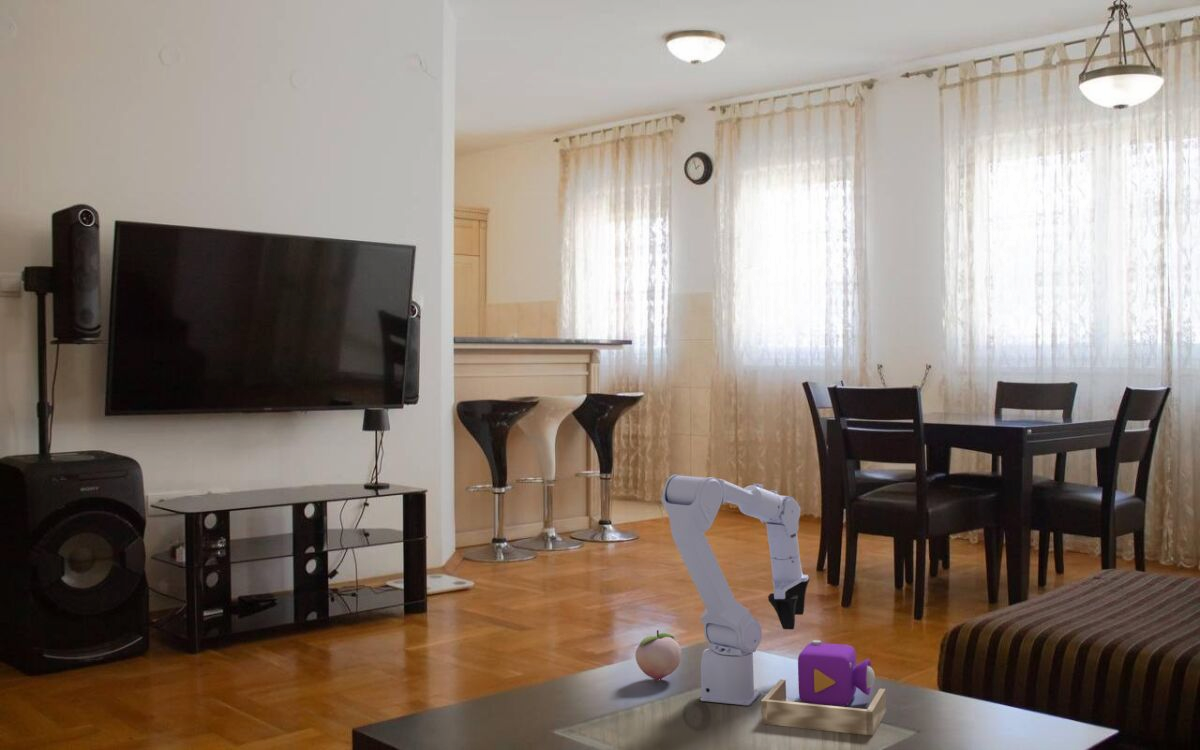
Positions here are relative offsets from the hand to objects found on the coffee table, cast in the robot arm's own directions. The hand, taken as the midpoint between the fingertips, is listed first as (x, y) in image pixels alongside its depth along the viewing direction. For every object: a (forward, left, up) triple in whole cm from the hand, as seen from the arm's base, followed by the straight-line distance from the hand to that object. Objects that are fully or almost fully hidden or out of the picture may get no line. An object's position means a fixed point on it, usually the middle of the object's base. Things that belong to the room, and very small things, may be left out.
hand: (793, 621), depth 219 cm
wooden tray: (+11, -22, -11) cm, 27 cm away
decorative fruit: (-24, -11, -11) cm, 29 cm away
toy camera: (+11, -12, -11) cm, 20 cm away
